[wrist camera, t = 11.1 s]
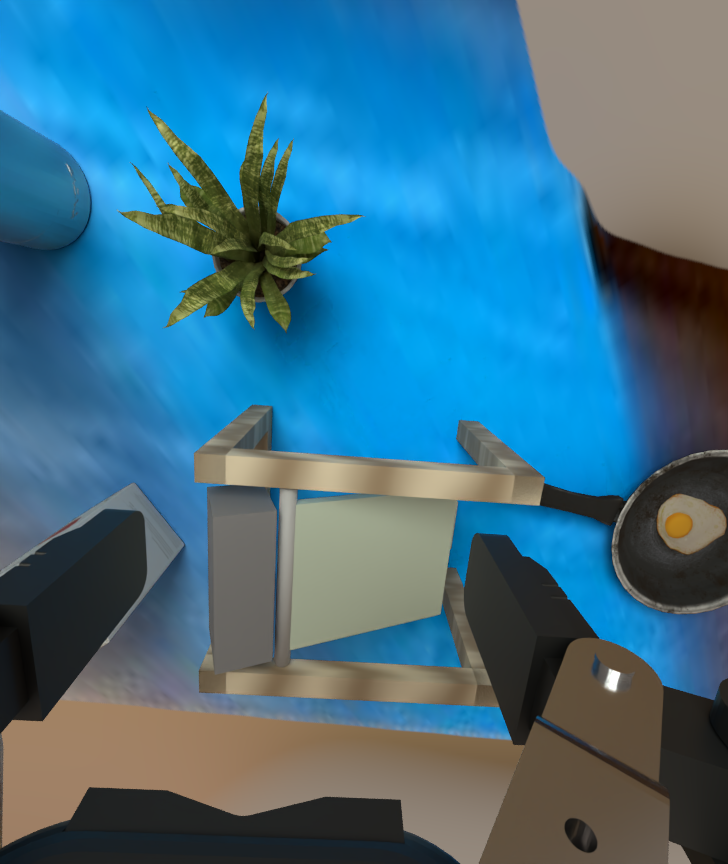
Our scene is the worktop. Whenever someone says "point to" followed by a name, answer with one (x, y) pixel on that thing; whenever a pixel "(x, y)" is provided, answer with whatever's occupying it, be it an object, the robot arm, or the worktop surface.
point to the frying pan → (667, 533)
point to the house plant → (238, 230)
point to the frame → (489, 482)
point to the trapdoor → (318, 568)
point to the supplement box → (158, 534)
